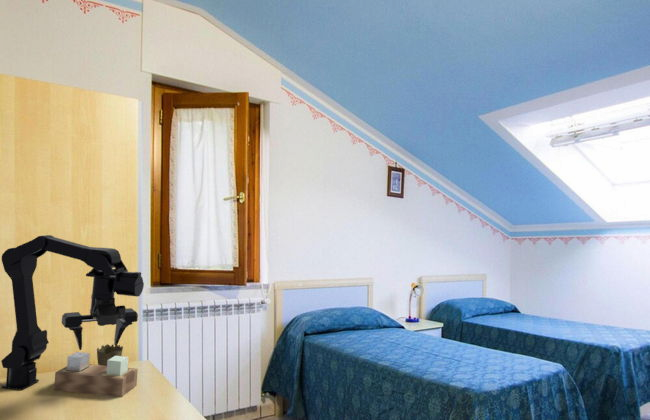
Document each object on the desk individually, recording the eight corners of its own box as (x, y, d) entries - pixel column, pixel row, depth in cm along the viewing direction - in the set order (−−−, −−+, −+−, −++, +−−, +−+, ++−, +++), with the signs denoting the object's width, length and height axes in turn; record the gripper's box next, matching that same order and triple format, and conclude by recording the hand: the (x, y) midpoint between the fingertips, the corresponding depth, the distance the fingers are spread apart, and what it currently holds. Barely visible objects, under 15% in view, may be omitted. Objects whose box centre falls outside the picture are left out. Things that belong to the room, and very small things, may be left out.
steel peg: (66, 373, 125) (67, 356, 125) (75, 368, 129) (76, 352, 129) (79, 374, 125) (80, 357, 125) (88, 369, 129) (89, 353, 129)
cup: (110, 378, 133) (112, 352, 133) (89, 375, 135) (91, 349, 135) (126, 370, 140) (128, 345, 141) (106, 367, 142) (107, 342, 142)
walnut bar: (54, 390, 123) (55, 372, 123) (72, 379, 131) (73, 362, 131) (121, 396, 122) (122, 378, 122) (136, 385, 130) (137, 368, 130)
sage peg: (106, 377, 124) (107, 360, 124) (114, 372, 128) (115, 355, 128) (119, 378, 124) (120, 361, 124) (127, 373, 128) (128, 356, 128)
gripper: (72, 301, 112) (66, 361, 112) (146, 297, 125) (141, 351, 125) (63, 292, 121) (58, 348, 121) (134, 289, 133) (129, 340, 133)
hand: (98, 347), depth 125 cm, fingers open, 9 cm apart
